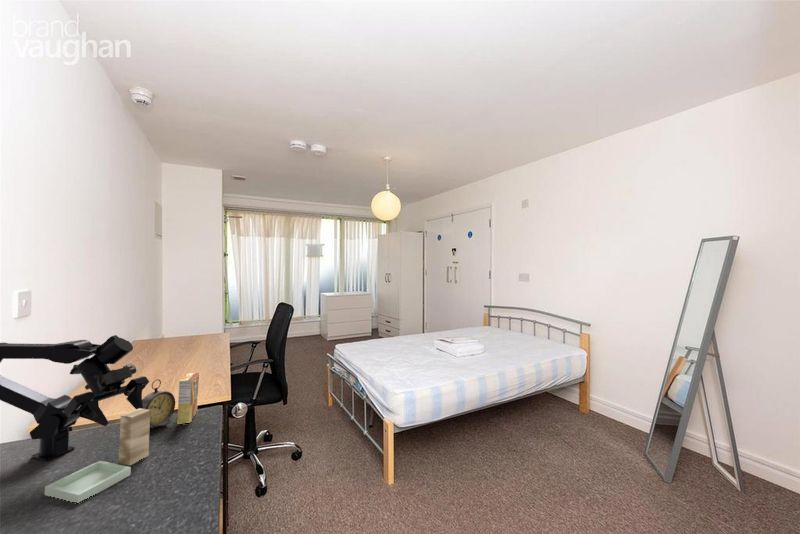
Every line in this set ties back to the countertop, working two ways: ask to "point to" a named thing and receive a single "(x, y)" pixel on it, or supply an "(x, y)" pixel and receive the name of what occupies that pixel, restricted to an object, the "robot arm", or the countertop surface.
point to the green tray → (87, 481)
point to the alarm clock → (159, 406)
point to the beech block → (134, 436)
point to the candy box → (188, 398)
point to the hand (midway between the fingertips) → (125, 417)
